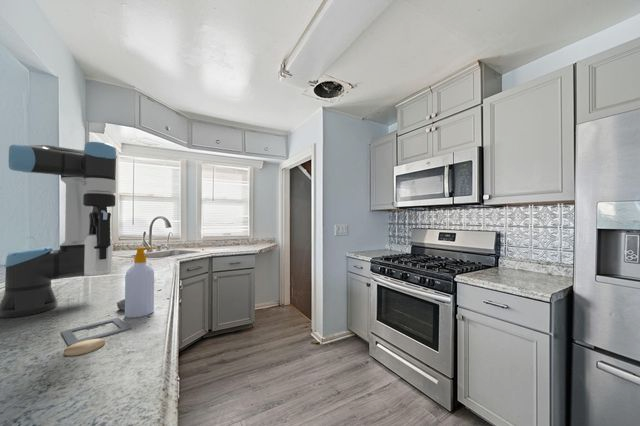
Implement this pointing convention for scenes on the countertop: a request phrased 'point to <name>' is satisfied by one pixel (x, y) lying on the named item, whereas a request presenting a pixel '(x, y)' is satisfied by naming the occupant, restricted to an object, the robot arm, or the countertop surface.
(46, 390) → the countertop surface
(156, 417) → the countertop surface
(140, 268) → the soap bottle
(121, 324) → the frame
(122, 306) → the stone
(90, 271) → the can
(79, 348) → the coaster
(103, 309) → the countertop surface
